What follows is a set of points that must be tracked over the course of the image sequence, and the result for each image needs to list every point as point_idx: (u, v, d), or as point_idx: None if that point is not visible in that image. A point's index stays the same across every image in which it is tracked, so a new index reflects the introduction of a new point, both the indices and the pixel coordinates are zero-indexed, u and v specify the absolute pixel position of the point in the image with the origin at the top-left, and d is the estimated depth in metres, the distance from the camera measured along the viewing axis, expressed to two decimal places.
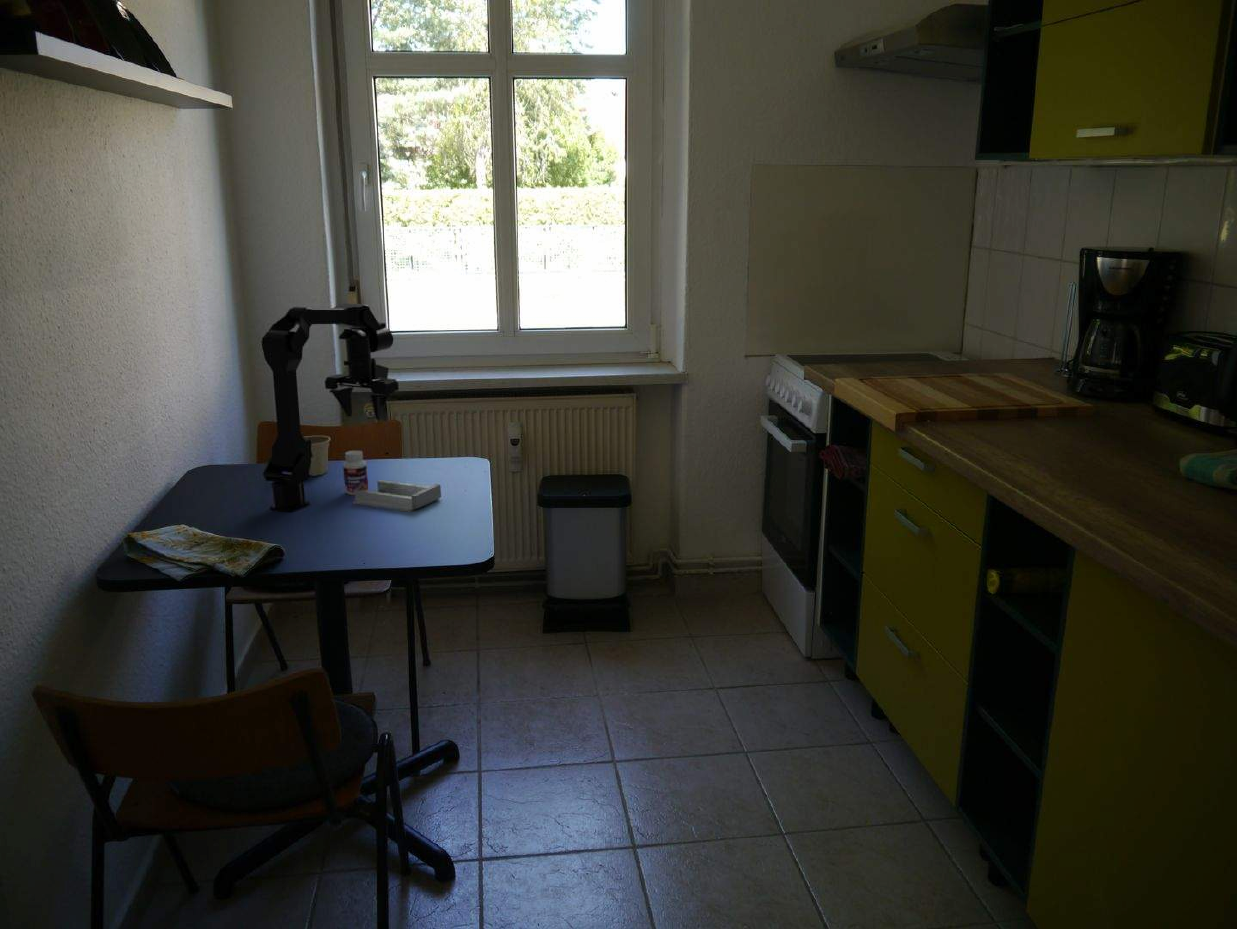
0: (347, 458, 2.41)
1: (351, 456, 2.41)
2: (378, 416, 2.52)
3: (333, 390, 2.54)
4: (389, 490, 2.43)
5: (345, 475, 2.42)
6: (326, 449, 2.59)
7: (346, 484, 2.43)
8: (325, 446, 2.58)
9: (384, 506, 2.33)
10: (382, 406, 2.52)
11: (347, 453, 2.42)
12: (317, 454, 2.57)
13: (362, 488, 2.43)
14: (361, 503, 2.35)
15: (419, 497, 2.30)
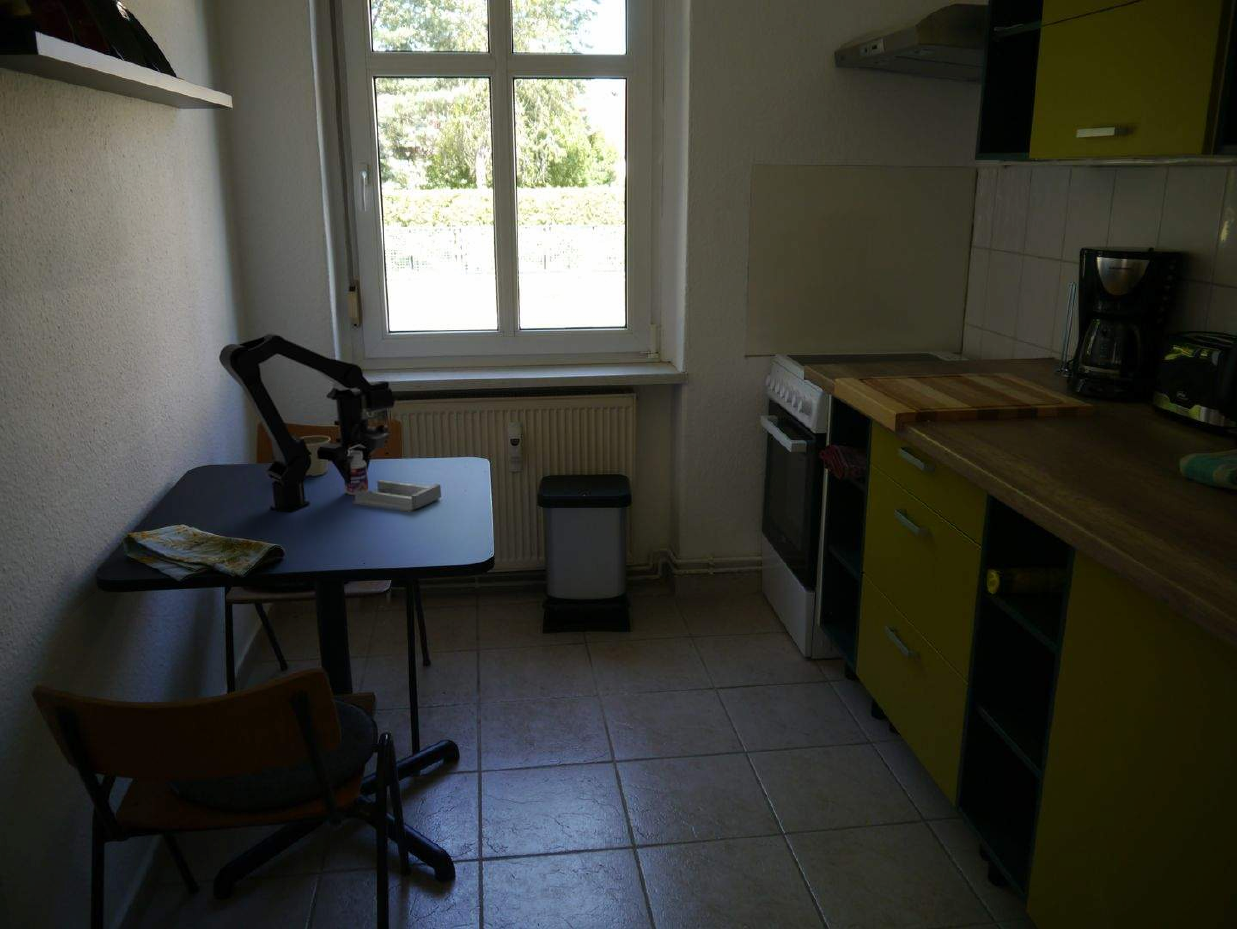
0: None
1: None
2: (344, 479, 2.41)
3: None
4: (389, 490, 2.43)
5: None
6: None
7: (346, 484, 2.43)
8: None
9: (384, 506, 2.33)
10: (344, 470, 2.40)
11: None
12: None
13: (362, 488, 2.43)
14: (361, 503, 2.35)
15: (419, 497, 2.30)
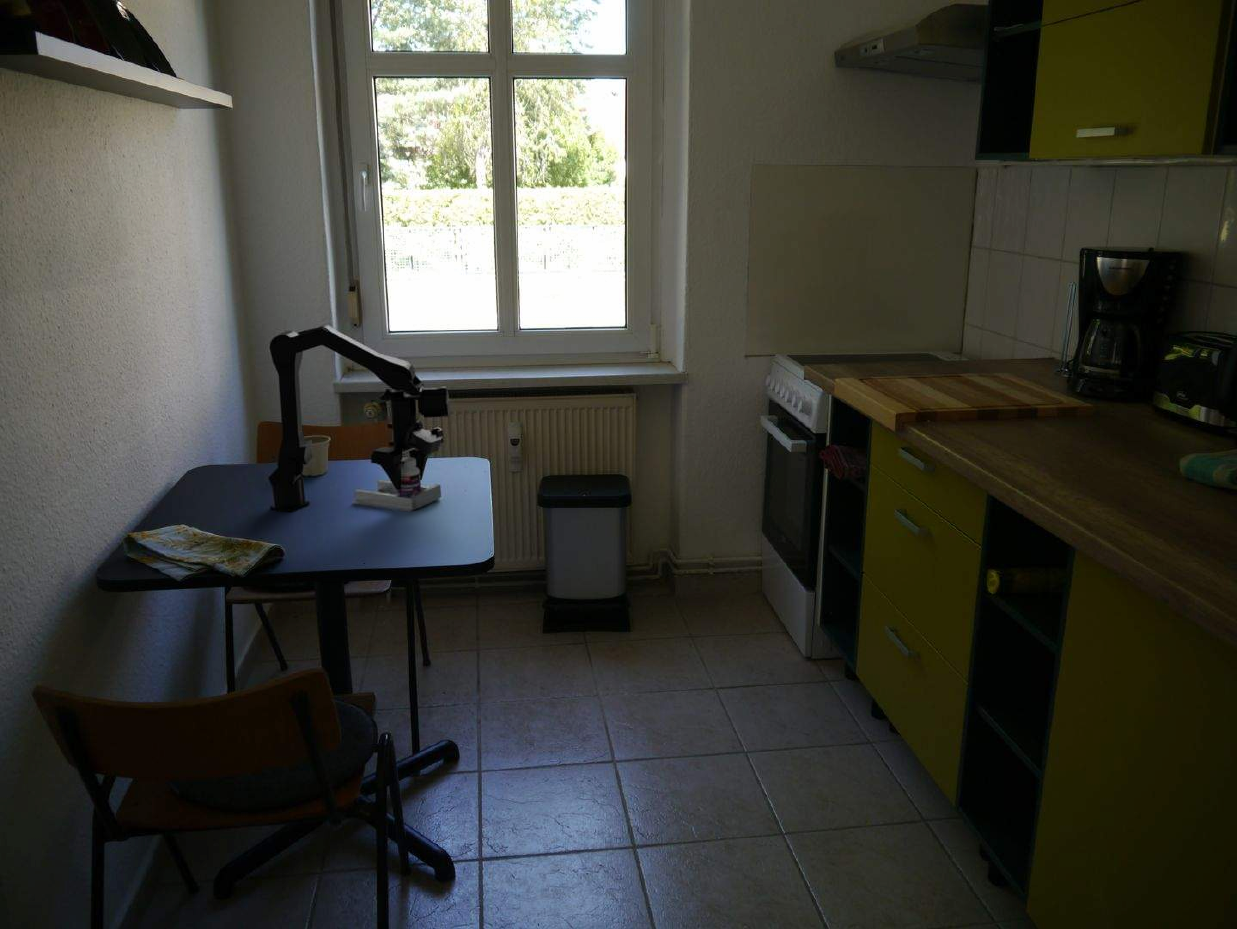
0: None
1: None
2: (394, 485, 2.31)
3: None
4: (389, 490, 2.43)
5: None
6: (326, 449, 2.59)
7: (399, 492, 2.33)
8: (325, 446, 2.58)
9: (384, 506, 2.33)
10: (395, 476, 2.30)
11: None
12: (317, 454, 2.57)
13: None
14: (361, 503, 2.35)
15: (419, 497, 2.30)
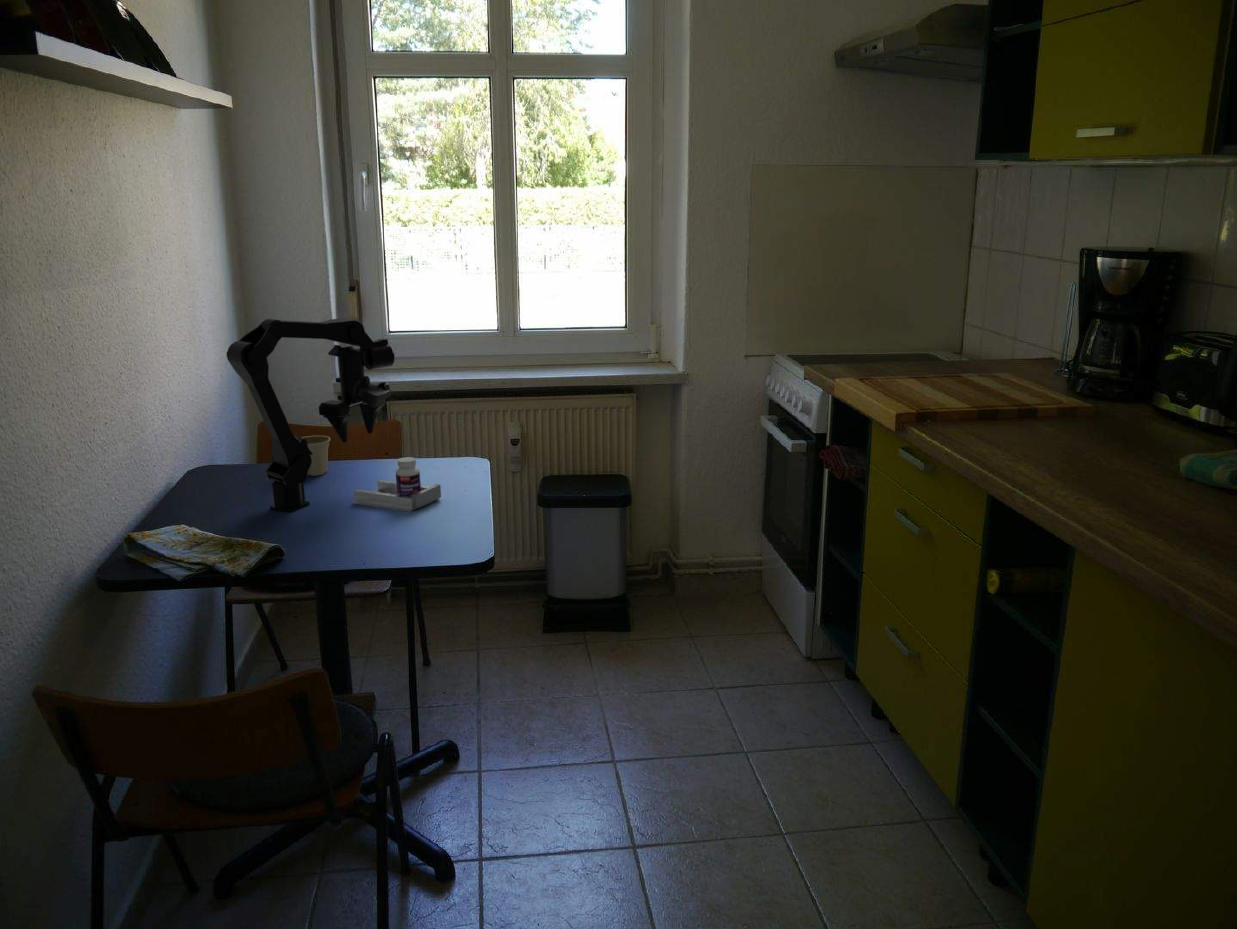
0: (400, 465, 2.32)
1: (404, 463, 2.32)
2: (341, 438, 2.40)
3: None
4: (389, 490, 2.43)
5: (398, 483, 2.33)
6: (326, 449, 2.59)
7: (399, 492, 2.33)
8: (325, 446, 2.58)
9: (384, 506, 2.33)
10: (341, 429, 2.39)
11: (400, 460, 2.33)
12: (317, 454, 2.57)
13: None
14: (361, 503, 2.35)
15: (419, 497, 2.30)
